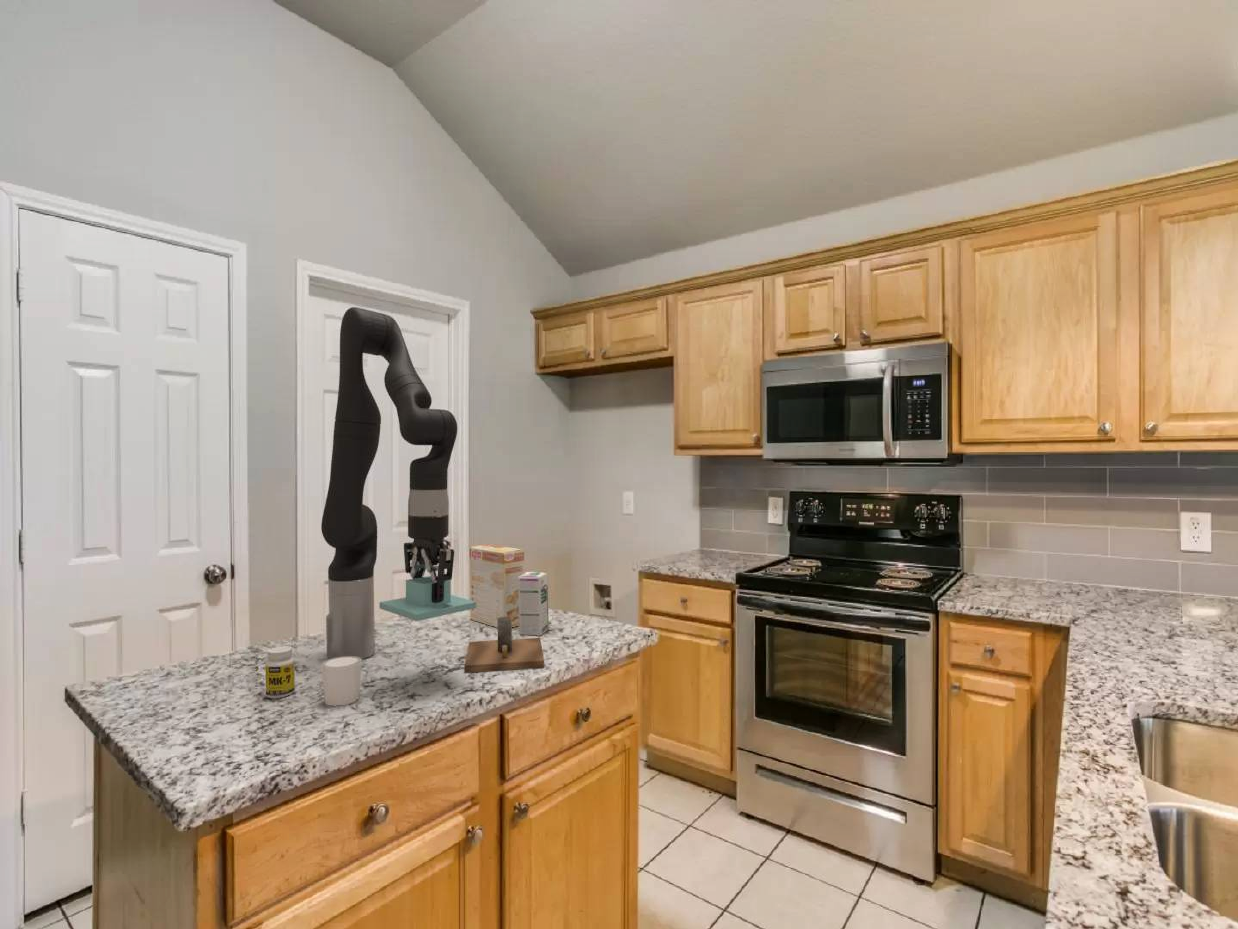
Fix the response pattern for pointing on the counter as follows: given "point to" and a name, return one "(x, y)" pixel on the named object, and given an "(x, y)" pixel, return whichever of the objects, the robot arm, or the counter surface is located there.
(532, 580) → the syrup box
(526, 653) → the post block
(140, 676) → the counter surface
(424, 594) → the flange plate
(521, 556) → the coffeecake box
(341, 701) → the white short cylinder
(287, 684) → the supplement bottle
